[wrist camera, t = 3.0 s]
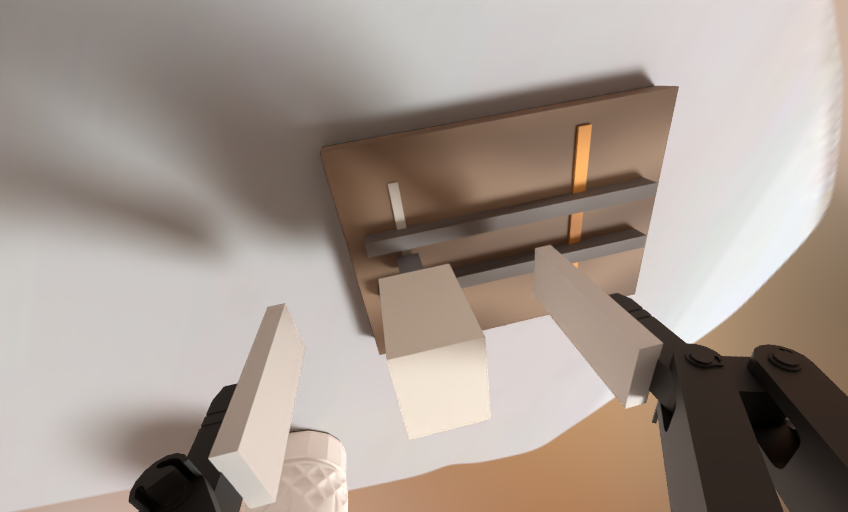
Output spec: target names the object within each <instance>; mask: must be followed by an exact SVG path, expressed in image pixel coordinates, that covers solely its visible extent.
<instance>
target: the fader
mask: <svg viewBox="0 0 848 512" xmlns="http://www.w3.org/2000/svg"><path fill="white" fill-rule="evenodd" d="M396 258H397V263H398V267H399V272H400V274H399V275H394V276H390V277H385V278H381V279H378V280H379V290H380V300H381V309H382V319H383V329H384V339H385V348H386V358H387V363H388V367H389V370H390V374H391V377H392V381H393V384H394V388H395V391H396V395H397V398H398V402H399V405H400V409H401V412H402V416H403V419H404V423H405V426H406V430H407V433H408V437H409V440H412V439H415V438H419V437H423V436H427V435H431V434H435V433H438V432H442V431H446V430H450V429H454V428H458V427H461V426H465V425H469V424H473V423H477V422H480V421H484V420H488V419H491V412H490V398H489V385H488V371H487V357H486V343H485V336H484V334H483V332H482V330H481V327H480V325H479V323H478V321H477V319H476V317H475V315H474V313H473V311H472V309H471V307H470V305H469V303H468V301H467V299H466V297H465V295H464V293H463V291H462V289H461V287H460V285H459V283H458V280H457V278H456V276H455V274H454V272H453V270H452V268H451V266H450V264H444V265H440V266H435V267H431V268H426V269H424V268H423V265H422V263H421V260H420V257H419V254H418V253H415V254H410V255H405V256H401V257H396Z"/></svg>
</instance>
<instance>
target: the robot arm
mask: <svg viewBox="0 0 848 512" xmlns="http://www.w3.org/2000/svg"><path fill="white" fill-rule="evenodd" d="M534 296H535V297H536V299H537V300H538V301H539V302H540V304H541V305H542V306H543V307H544V309H545V310H546V311H547V312H548V314H549V315H550V316H551V317H552V319H553V320H554V321H555V322H556V323H557V325H558V326H559V327H560V328H561V330H562V331H563V332H564V333H565V335H566V336H567V337H568V338H569V340H570V341H571V342H572V343H573V345H574V346H575V347H576V348H577V350H578V351H579V352H580V353H581V355H582V356H583V357H584V358H585V359H586V361H587V362H588V363H589V364H590V366H591V367H592V368H593V369H594V371H595V372H596V373H597V374H598V376H599V377H600V378H601V379H602V381H603V382H604V383H605V384H606V386H607V387H608V388H609V389H610V390H611V392H612V393H613V394H614V395H615V397H616V398H617V399H618V400H619V402H620V403H621V404H622V405H623V406H624V408H629V407H633V406H636V405H640V404H643V403H646V401H647V398H648V394H649V391H650V392H651V393H652V394H653V395H654V396H655V397H656V398H657V399H658V403H657V406H656V409H655V412H654V415H653V420H652V423H656V422H657V419H658V421H659V429H660V436H661V443H662V450H663V458H664V465H665V472H666V479H667V487H668V494H669V500H670V508H671V512H783V509H782V506H781V504H780V501H779V498H778V496H777V493H776V490H777V492H778V494H779V495H780V497H781V499H782V500H783V502H784V503H785V505H786V506H787V508H788V510H789V511H790V512H848V396H847V395H846V394H845V393H844V392H843V391H841V390H840V389H839V388H838V387H837V386H836V385H835V384H834V383H833V382H832V381H831V380H830V379H829V378H828V377H827V376H826V375H825V374H824V373H823V372H822V371H821V370H820V369H819V368H818V367H817V366H816V365H815V364H814V363H813V362H812V361H810V360H809V359H808V358H806V357H805V356H804V355H802V354H800V353H798V352H795V351H794V350H791V349H788V348H785V347H781V346H776V345H760V346H759V347H756V348H755V349H754V351H753V353H752V355H751V357H731V356H721V355H720V354H718V353H717V352H716V351H714V350H711V349H709V348H707V347H704V346H701V345H697V344H687V343H685V342H684V341H683V340H682V339H680V338H679V337H678V336H677V335H675V334H674V333H673V332H672V331H670V330H669V329H668V328H667V327H666V326H664V325H663V324H662V323H661V322H659V321H658V320H657V319H656V318H654V317H652V316H651V314H650V313H648V312H647V311H646V310H645V309H644V310H643V309H642V307H641V306H640V305H638V304H637V303H636V302H635V301H633V300H632V299H630V298H628V297H626V296H624V295H622V294H619V293H614V294H610V295H607V294H606V293H605V292H604V291H603V290H602V289H601V288H599V287H598V286H597V285H596V284H595V283H594V282H592V281H591V280H590V279H589V278H588V277H587V276H586V275H584V274H583V273H582V272H581V271H580V270H579V269H578V268H576V267H575V266H574V265H573V264H572V263H571V262H570V261H568V260H567V259H566V258H565V257H564V256H563V255H561V254H560V253H559V252H558V251H557V250H556V249H555V248H553V247H552V246H551V245H547V246H543V247H538V248H535V268H534ZM304 353H305V347H304V344H303V342H302V340H301V338H300V335H299V333H298V331H297V329H296V326H295V324H294V322H293V320H292V317H291V315H290V313H289V311H288V308H287V306H286V304H285V303H284V304H279V305H275V306H270V307H267V310H266V312H265V315H264V317H263V320H262V322H261V325H260V328H259V330H258V333H257V335H256V338H255V340H254V343H253V345H252V348H251V351H250V353H249V356H248V358H247V361H246V363H245V366H244V368H243V371H242V373H241V376H240V379H239V381H238V383H237V384H233V385H229V386H225V387H223V388H222V390H221V391H220V392H219V393H218V394H217V396H216V397H215V398H214V399H213V401H212V403H211V405H210V407H209V410H208V412H207V414H206V415H207V417H205V418H204V421H203V423H202V425H201V429H200V430H199V432H198V434H197V436H196V438H195V441H194V443H193V445H192V447H191V450H190V452H189V454H188V456H187V457H186V456H185V455H184V454H179V453H175V454H172V455H168V456H165V457H164V458H162V459H160V460H158V461H156V462H155V463H154V464H152V465H151V466H150V467H149V468H148V469H146V470H145V471H144V472H143V474H142V475H141V476H140V477H139V478H138V479H137V481H136V482H135V484H134V486H133V488H132V489H131V491H130V495H129V503H131V504H132V505H133V506H134V507H135V508H136V509H138V510H139V512H239V510H240V507H241V503H242V500H243V501H244V502H245V503H246V504H247V506H248V507H249V508H250V509H251V508H255V507H259V506H263V505H266V504H270V503H274V502H276V497H277V492H278V487H279V482H280V477H281V471H282V466H283V461H284V456H285V451H286V446H287V440H288V435H289V430H290V425H291V420H292V415H293V409H294V404H295V399H296V394H297V389H298V384H299V378H300V373H301V368H302V363H303V358H304ZM775 489H776V490H775Z"/></svg>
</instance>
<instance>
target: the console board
mask: <svg viewBox="0 0 848 512" xmlns="http://www.w3.org/2000/svg"><path fill="white" fill-rule="evenodd" d="M678 88H679V86H651V87H646V88H640V89H635V90H630V91H624V92H619V93H613V94H608V95H602V96H597V97H591V98H586V99H581V100H575V101H570V102H564V103H559V104H553V105H548V106H543V107H537V108H532V109H526V110H521V111H515V112H510V113H505V114H499V115H494V116H488V117H483V118H477V119H472V120H466V121H461V122H456V123H450V124H445V125H439V126H434V127H428V128H423V129H418V130H412V131H407V132H401V133H396V134H390V135H385V136H379V137H374V138H369V139H363V140H358V141H352V142H347V143H341V144H336V145H331V146H325V147H323V148H322V150H321V152H320V155H321V159H322V162H323V165H324V169H325V172H326V175H327V179H328V182H329V186H330V189H331V192H332V196H333V199H334V202H335V206H336V209H337V213H338V216H339V219H340V223H341V226H342V229H343V233H344V236H345V240H346V243H347V246H348V250H349V253H350V256H351V260H352V263H353V267H354V270H355V273H356V277H357V280H358V283H359V287H360V290H361V294H362V297H363V300H364V304H365V307H366V310H367V314H368V317H369V321H370V324H371V327H372V331H373V334H374V338H375V341H376V344H377V348H378V351H379V354H380V355H381V354H385V353H386V348H385V339H384V329H383V319H382V309H381V300H380V290H379V280H378V279H381V278H385V277H390V276H394V275H399V274H400V272H399V267H398V263H397V258H396V257H401V256H405V255H410V254H415V253H418V254H419V257H420V260H421V263H422V265H423V268H424V269H426V268H431V267H435V266H440V265H444V264H450V266H451V268H452V270H453V272H454V274H455V276H456V278H457V280H458V283H459V285H460V287H461V289H462V291H463V293H464V295H465V297H466V299H467V301H468V303H469V305H470V307H471V309H472V311H473V313H474V315H475V317H476V319H477V321H478V323H479V325H480V327H481V330H486V329H490V328H495V327H499V326H503V325H507V324H511V323H516V322H520V321H524V320H528V319H532V318H537V317H541V316H545V315H549V314H548V312H547V311H546V310H545V309H544V307H543V306H542V305H541V304H540V302H539V301H538V300H537V299H536V297H535V296H534V268H535V248H538V247H543V246H547V245H551V246H552V247H553V248H555V249H556V250H557V251H558V252H559V253H560V254H561V255H563V256H564V257H565V258H566V259H567V260H568V261H570V262H571V263H572V264H573V265H574V266H575V267H576V268H578V269H579V270H580V271H581V272H582V273H583V274H584V275H586V276H587V277H588V278H589V279H590V280H591V281H592V282H594V283H595V284H596V285H597V286H598V287H599V288H601V289H602V290H603V291H604V292H605V293H606V294H607V295H610V294H614V293H619V294H622V295H624V296H629V295H633V294H635V291H636V286H637V281H638V276H639V272H640V267H641V262H642V258H643V253H644V248H645V243H646V239H647V234H648V229H649V225H650V220H651V215H652V210H653V206H654V201H655V196H656V192H657V187H658V182H659V177H660V173H661V168H662V163H663V159H664V154H665V149H666V144H667V140H668V135H669V130H670V126H671V121H672V116H673V111H674V107H675V102H676V97H677V93H678Z"/></svg>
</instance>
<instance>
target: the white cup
mask: <svg viewBox="0 0 848 512" xmlns="http://www.w3.org/2000/svg"><path fill="white" fill-rule="evenodd" d="M241 512H348V491H347V483H346V452H345V449H344V447H343V445H342V443H341V441H339V440H338V439H336V438H334V437H333V436H331V435H329V434H327V433H321V432H316V431H300V432H292V433H289V435H288V440H287V446H286V451H285V456H284V461H283V466H282V471H281V477H280V482H279V487H278V492H277V497H276V502H274V503H270V504H266V505H263V506H259V507H255V508H251V509H250V508H249V507H248V506H247V504H246V503H245V502H244V503H243V506H242V509H241Z"/></svg>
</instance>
